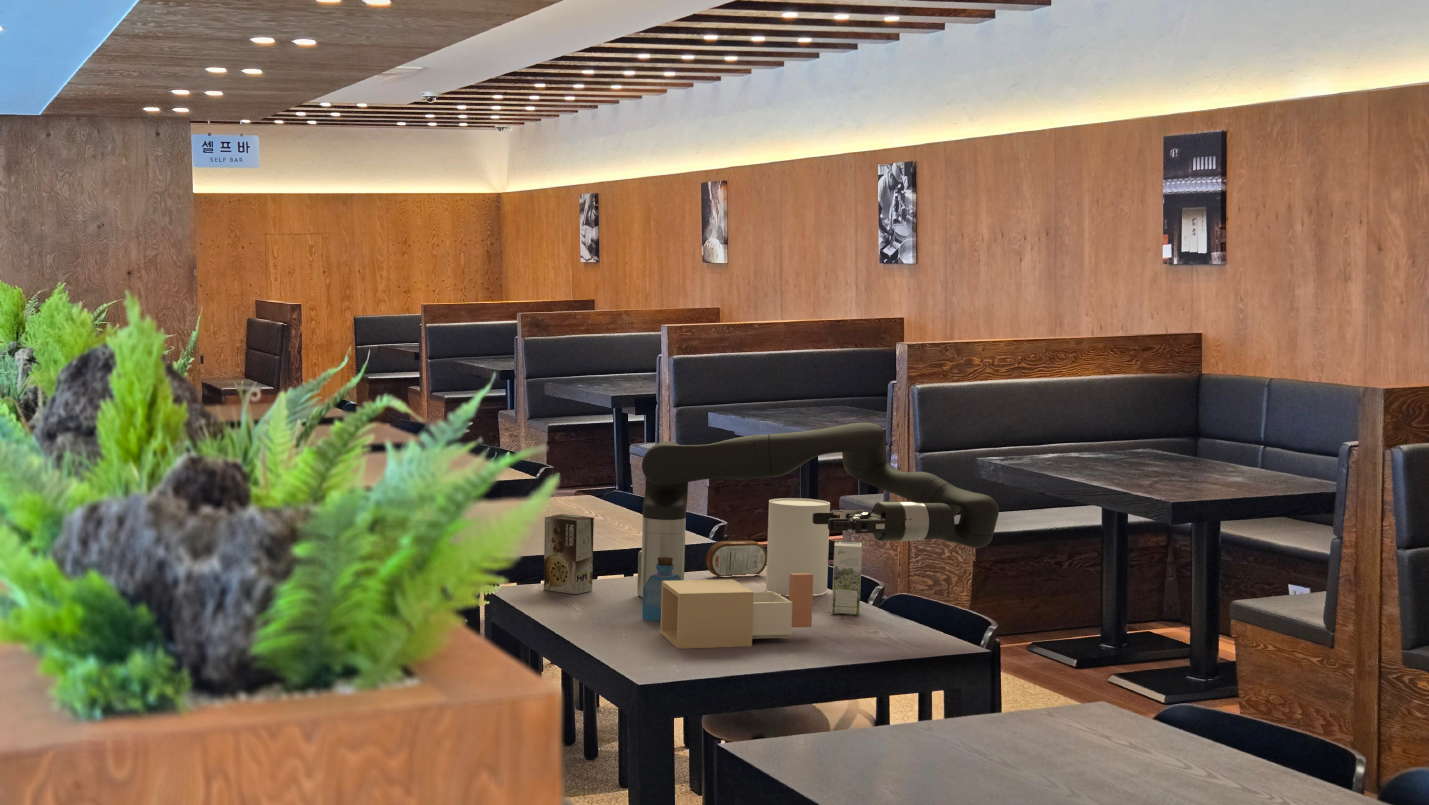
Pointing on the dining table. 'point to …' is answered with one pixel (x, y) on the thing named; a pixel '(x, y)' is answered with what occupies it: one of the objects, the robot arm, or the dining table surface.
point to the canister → (796, 543)
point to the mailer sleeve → (706, 613)
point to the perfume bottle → (657, 589)
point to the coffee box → (568, 553)
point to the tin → (736, 558)
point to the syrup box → (847, 578)
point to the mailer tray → (783, 609)
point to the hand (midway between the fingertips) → (820, 521)
